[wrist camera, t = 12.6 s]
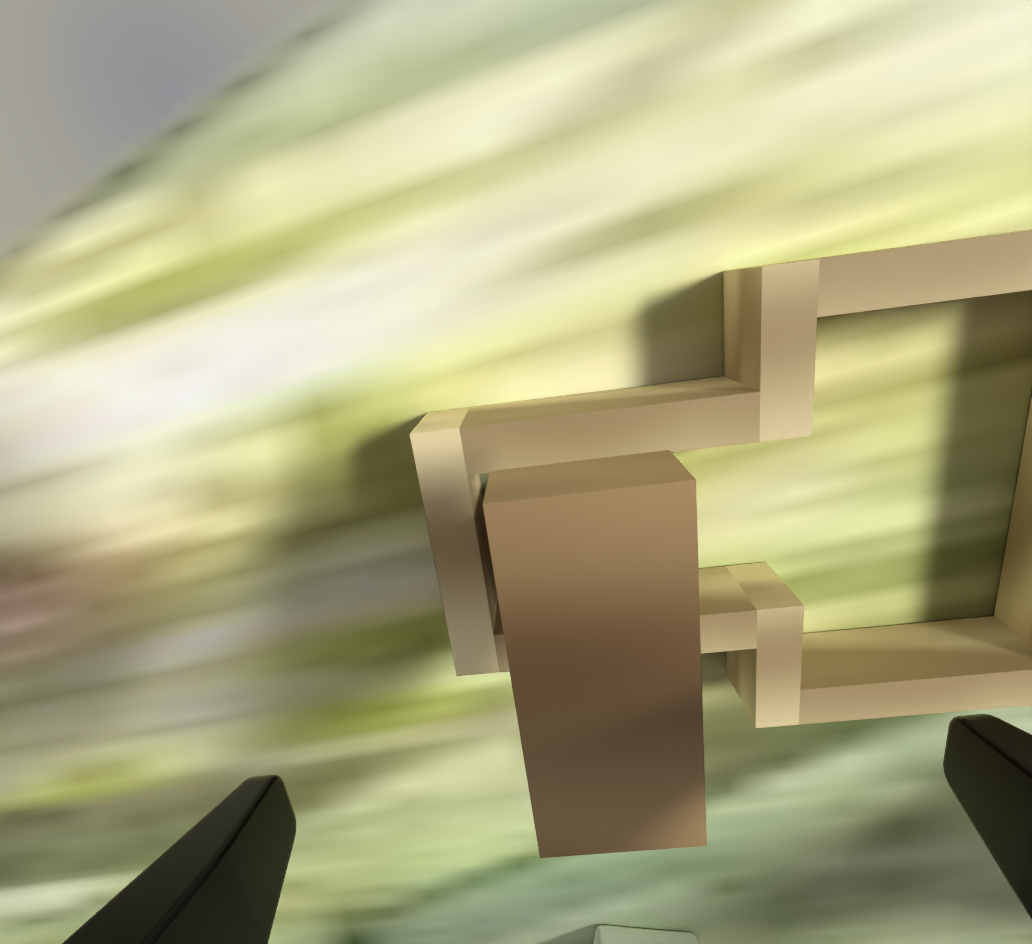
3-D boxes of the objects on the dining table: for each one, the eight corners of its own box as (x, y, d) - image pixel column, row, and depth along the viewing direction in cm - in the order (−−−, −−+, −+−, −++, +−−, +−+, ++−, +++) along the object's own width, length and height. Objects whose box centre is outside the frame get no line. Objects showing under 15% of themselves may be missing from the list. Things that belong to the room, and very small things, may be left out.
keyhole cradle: (1027, 644, 17) (1103, 698, 15) (478, 694, 18) (471, 751, 16) (1112, 218, 13) (1234, 203, 11) (409, 313, 14) (386, 316, 12)
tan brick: (630, 611, 17) (706, 845, 10) (535, 620, 17) (540, 857, 10) (614, 388, 15) (695, 479, 8) (504, 402, 15) (483, 504, 8)
